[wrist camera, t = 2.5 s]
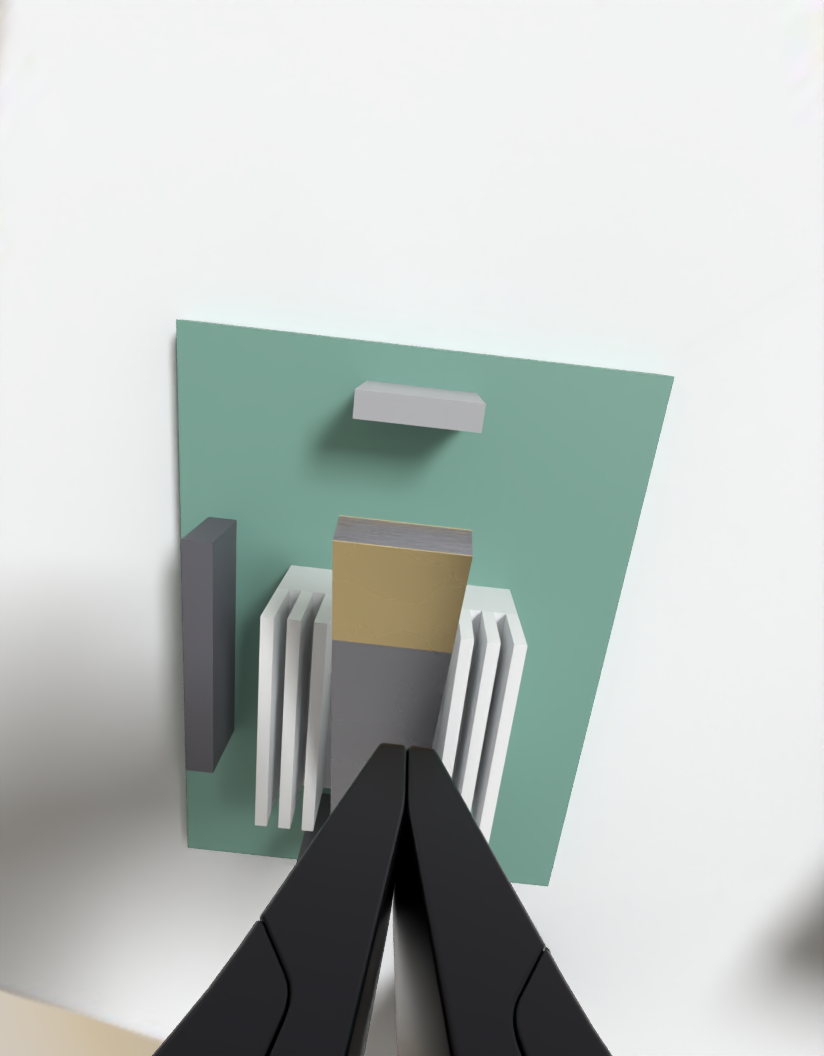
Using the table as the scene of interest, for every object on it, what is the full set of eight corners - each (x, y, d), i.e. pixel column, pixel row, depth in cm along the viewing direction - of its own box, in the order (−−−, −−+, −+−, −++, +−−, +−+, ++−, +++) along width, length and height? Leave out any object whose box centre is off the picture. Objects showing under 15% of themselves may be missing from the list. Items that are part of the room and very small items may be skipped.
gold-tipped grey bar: (409, 857, 23) (406, 897, 22) (329, 849, 23) (323, 888, 22) (480, 523, 12) (482, 567, 11) (332, 506, 12) (319, 548, 11)
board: (543, 866, 26) (568, 982, 22) (196, 828, 26) (145, 937, 21) (662, 374, 19) (738, 387, 15) (188, 320, 19) (110, 315, 14)
